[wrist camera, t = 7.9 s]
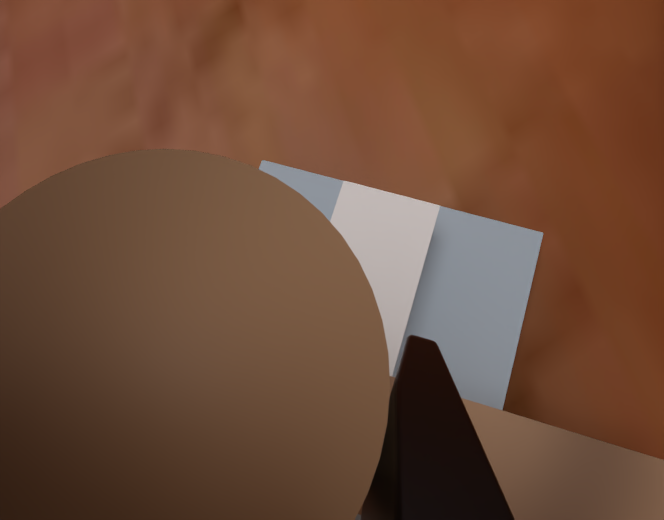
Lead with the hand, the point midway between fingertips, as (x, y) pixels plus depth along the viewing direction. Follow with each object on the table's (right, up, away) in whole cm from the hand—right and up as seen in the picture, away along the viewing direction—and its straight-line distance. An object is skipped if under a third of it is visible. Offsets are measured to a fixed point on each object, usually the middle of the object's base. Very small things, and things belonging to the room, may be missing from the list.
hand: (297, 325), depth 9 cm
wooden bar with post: (0, -3, +6) cm, 7 cm away
